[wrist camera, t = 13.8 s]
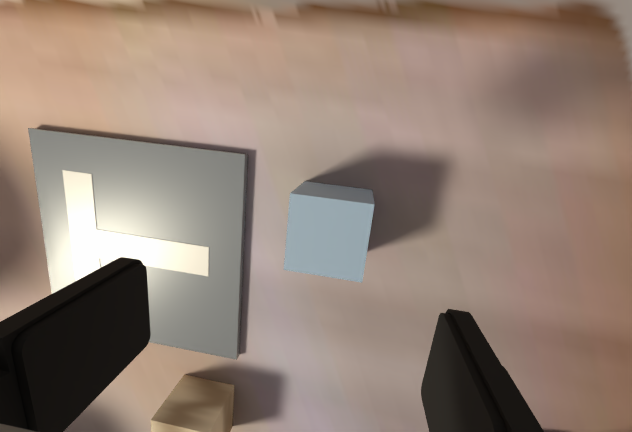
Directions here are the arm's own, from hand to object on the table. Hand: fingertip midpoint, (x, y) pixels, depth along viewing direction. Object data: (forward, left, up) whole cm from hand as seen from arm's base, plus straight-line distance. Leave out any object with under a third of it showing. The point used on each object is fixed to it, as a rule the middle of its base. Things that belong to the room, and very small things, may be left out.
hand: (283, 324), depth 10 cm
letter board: (+16, +5, -14) cm, 22 cm away
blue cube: (0, 0, -15) cm, 15 cm away
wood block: (+10, +20, -15) cm, 27 cm away
